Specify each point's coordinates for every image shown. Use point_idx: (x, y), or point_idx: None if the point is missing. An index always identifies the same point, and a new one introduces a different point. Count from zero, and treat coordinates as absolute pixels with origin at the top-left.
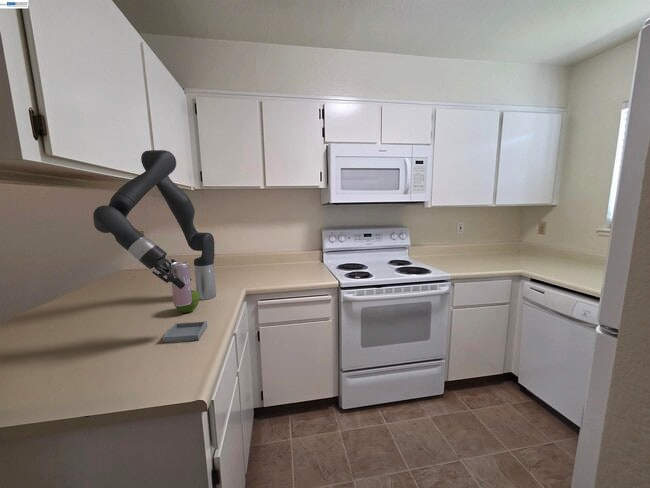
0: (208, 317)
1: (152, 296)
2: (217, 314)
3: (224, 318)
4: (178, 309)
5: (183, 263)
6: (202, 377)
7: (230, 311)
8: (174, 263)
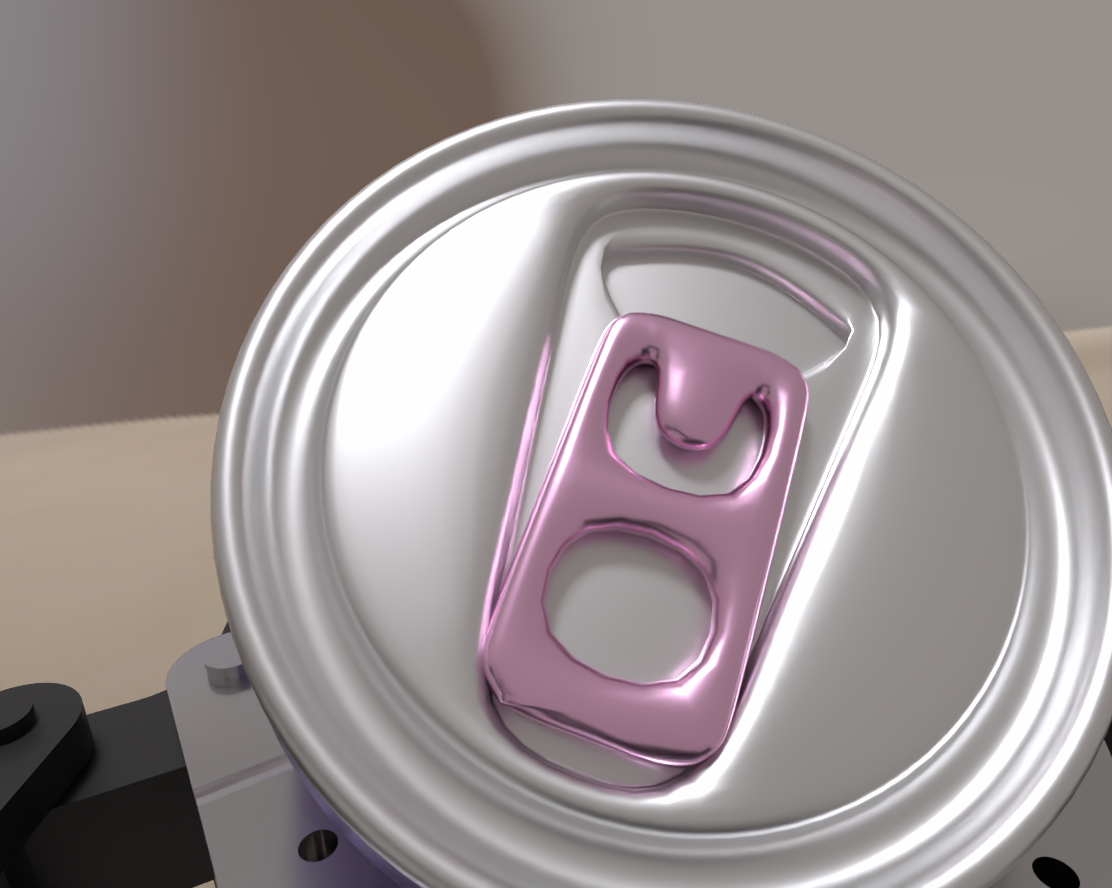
0: (125, 650)
1: None
2: (59, 577)
3: (199, 473)
4: None
5: (553, 317)
6: (1093, 367)
7: (9, 462)
8: (626, 800)
